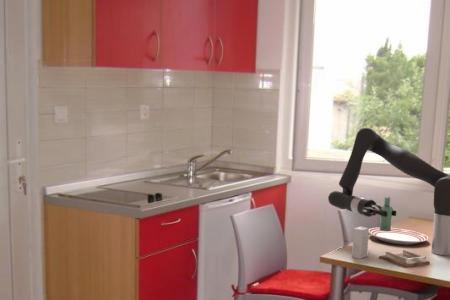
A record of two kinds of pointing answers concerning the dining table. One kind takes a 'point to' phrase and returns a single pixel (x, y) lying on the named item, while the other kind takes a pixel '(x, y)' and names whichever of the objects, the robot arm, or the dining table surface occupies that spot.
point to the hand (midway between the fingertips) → (391, 213)
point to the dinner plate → (398, 236)
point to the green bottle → (386, 221)
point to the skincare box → (360, 242)
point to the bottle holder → (405, 259)
